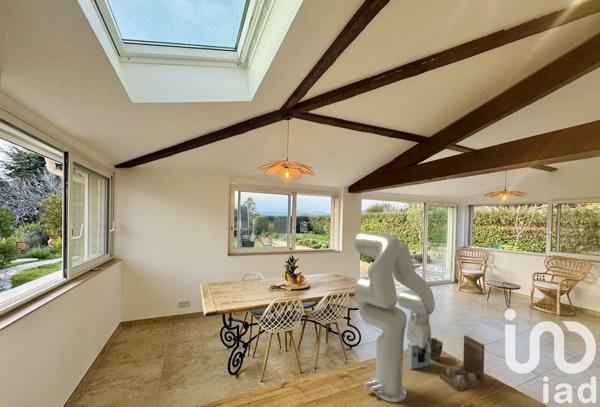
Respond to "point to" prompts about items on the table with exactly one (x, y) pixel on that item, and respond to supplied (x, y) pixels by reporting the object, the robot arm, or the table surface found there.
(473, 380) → the cabinet base
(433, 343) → the cup
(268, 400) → the table surface
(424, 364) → the door
